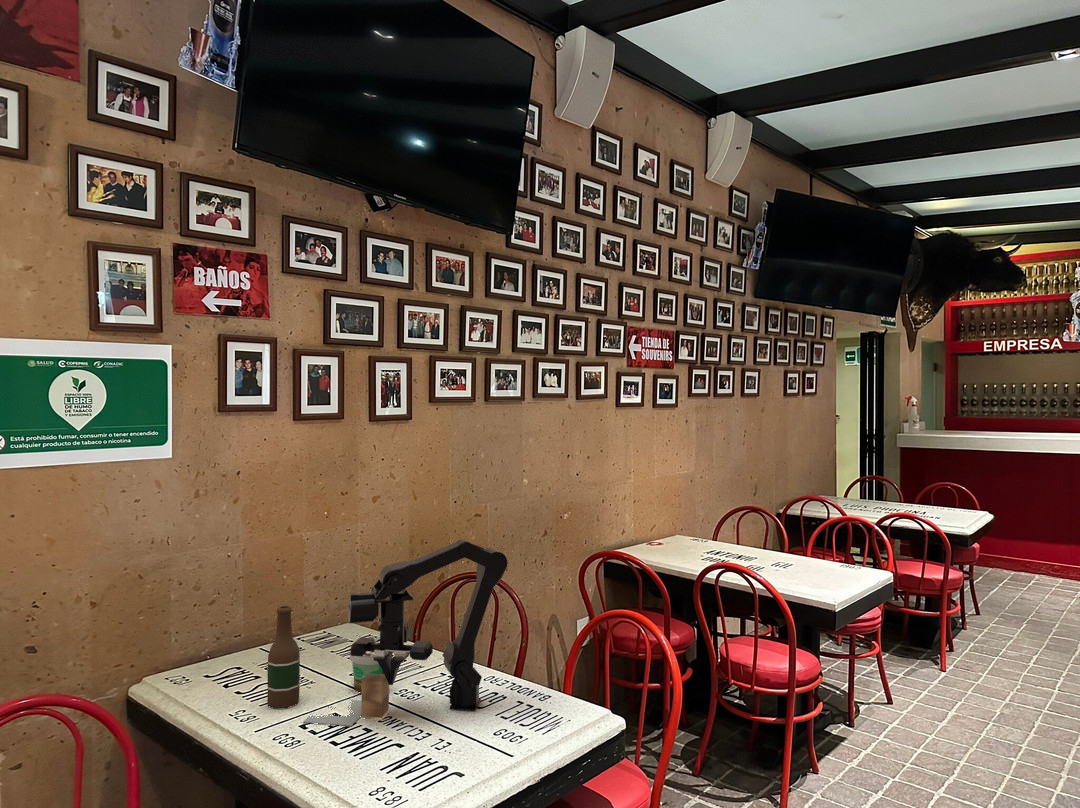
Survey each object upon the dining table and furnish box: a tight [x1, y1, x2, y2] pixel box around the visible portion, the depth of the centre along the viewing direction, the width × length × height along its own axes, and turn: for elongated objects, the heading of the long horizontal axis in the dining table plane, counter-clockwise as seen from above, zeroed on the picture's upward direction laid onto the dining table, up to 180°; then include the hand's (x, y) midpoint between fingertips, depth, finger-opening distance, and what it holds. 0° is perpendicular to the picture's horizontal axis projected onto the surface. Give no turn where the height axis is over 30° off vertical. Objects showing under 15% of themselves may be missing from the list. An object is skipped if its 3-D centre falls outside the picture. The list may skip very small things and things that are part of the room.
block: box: [360, 673, 390, 721], centre depth 176 cm, size 5×5×9 cm
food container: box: [349, 651, 384, 693], centre depth 191 cm, size 12×6×10 cm, turn 62°
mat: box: [302, 699, 361, 728], centre depth 177 cm, size 12×14×1 cm
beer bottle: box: [266, 605, 301, 709], centre depth 182 cm, size 8×8×24 cm
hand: (391, 684), depth 175 cm, fingers closed
